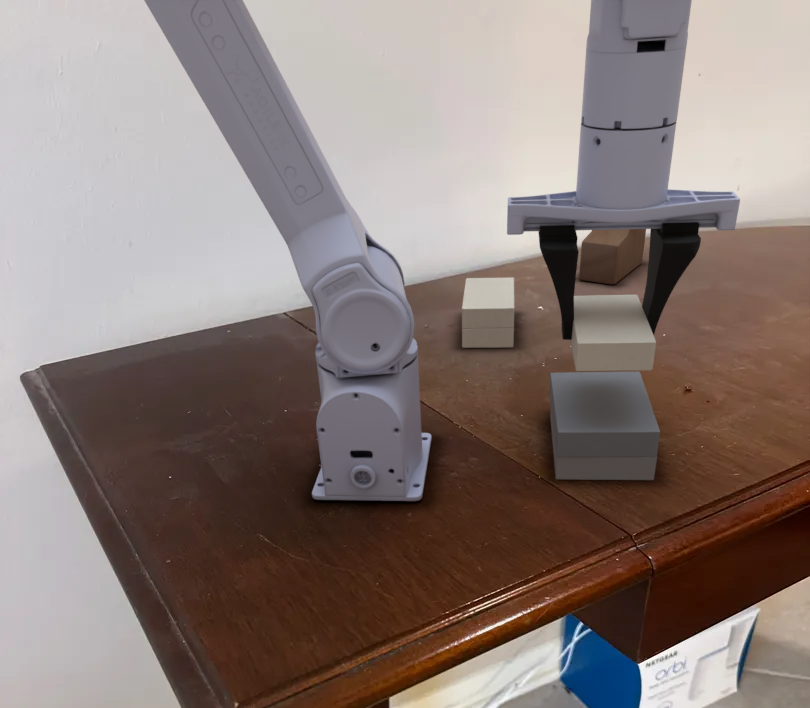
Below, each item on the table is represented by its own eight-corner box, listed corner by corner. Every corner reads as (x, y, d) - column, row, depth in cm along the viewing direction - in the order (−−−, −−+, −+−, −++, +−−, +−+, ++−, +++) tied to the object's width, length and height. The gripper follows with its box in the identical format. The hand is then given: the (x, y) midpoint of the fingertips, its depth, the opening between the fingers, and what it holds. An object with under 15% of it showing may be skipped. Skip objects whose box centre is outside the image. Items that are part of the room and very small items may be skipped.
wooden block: (614, 286, 92) (632, 108, 82) (577, 280, 94) (590, 106, 84) (643, 263, 98) (662, 94, 88) (607, 258, 100) (622, 93, 90)
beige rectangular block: (652, 370, 54) (656, 341, 52) (575, 371, 54) (577, 343, 53) (634, 320, 61) (637, 294, 60) (566, 321, 61) (568, 295, 60)
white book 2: (513, 347, 79) (513, 328, 78) (462, 348, 80) (461, 328, 79) (513, 314, 87) (513, 296, 85) (466, 315, 87) (466, 296, 86)
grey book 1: (656, 456, 57) (660, 431, 56) (556, 457, 58) (558, 432, 57) (637, 394, 65) (639, 371, 64) (549, 395, 66) (550, 372, 65)
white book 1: (513, 328, 78) (514, 307, 77) (461, 328, 79) (461, 308, 78) (513, 296, 85) (514, 277, 84) (466, 296, 86) (465, 278, 85)
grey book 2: (653, 480, 59) (657, 456, 57) (555, 479, 59) (557, 456, 58) (636, 416, 67) (639, 394, 65) (550, 416, 67) (551, 394, 66)
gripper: (736, 107, 52) (702, 312, 60) (509, 116, 54) (505, 314, 62) (763, 126, 47) (721, 350, 55) (509, 135, 48) (504, 351, 56)
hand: (607, 334), depth 58 cm, fingers closed on beige rectangular block, 5 cm apart
